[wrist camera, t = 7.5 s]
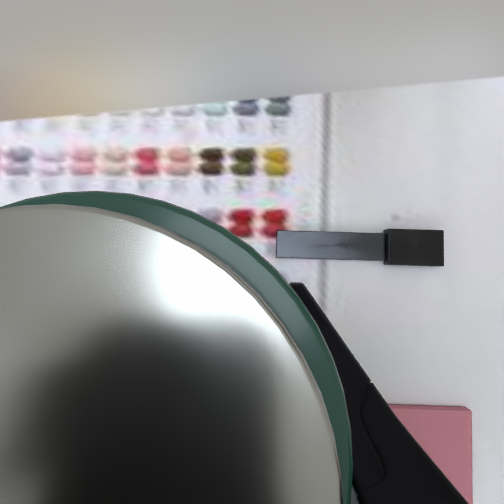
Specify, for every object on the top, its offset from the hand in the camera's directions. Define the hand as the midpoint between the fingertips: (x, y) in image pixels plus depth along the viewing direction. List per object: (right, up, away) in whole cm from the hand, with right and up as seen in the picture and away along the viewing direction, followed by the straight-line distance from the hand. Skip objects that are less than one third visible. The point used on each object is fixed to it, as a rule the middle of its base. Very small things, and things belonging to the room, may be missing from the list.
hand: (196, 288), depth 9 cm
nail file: (+10, +2, +12) cm, 16 cm away
